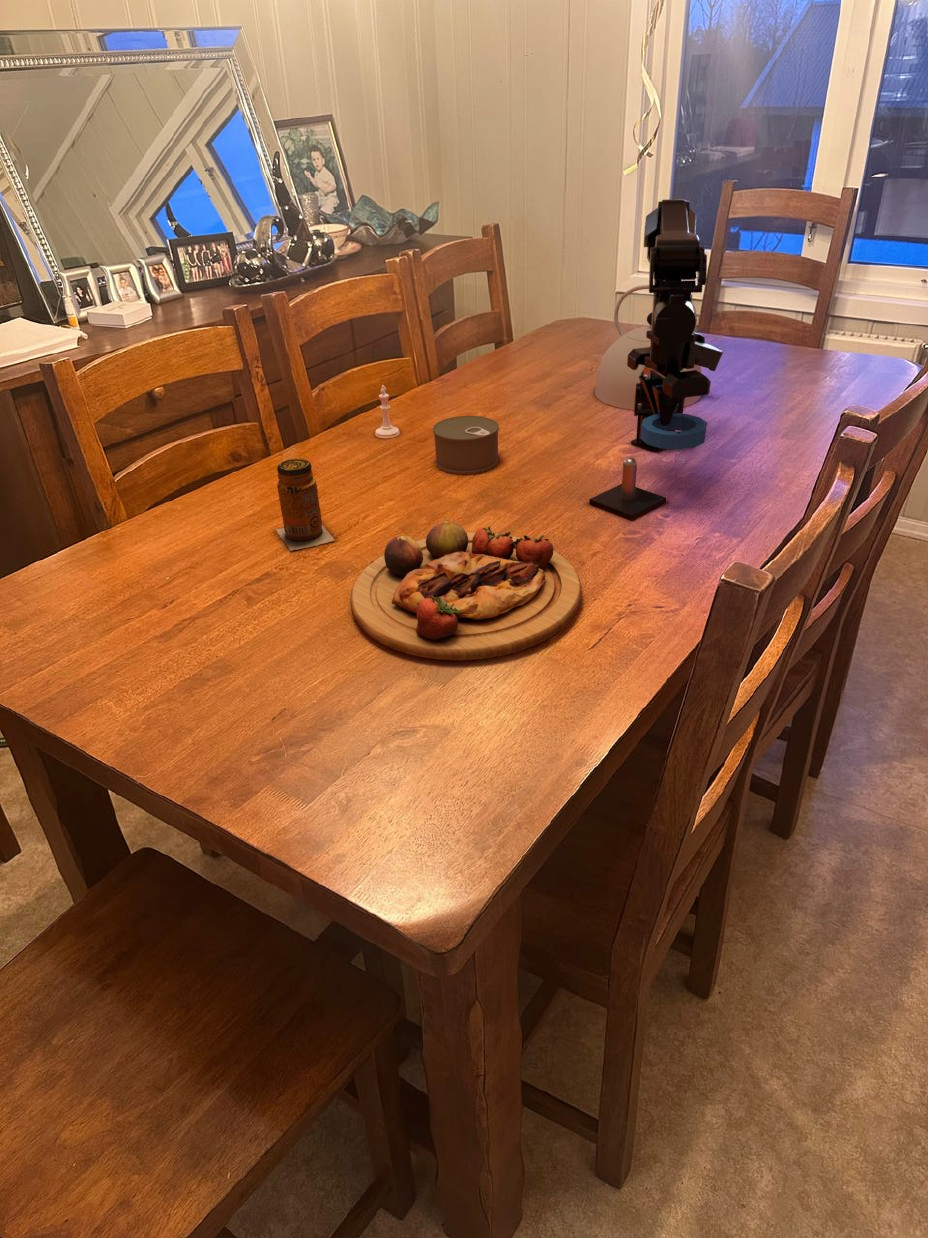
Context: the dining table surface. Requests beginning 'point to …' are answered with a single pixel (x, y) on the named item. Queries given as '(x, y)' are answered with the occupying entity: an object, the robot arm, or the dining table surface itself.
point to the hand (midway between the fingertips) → (662, 423)
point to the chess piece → (386, 418)
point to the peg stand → (628, 496)
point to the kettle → (613, 371)
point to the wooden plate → (465, 594)
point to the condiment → (300, 506)
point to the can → (466, 444)
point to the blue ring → (674, 432)
